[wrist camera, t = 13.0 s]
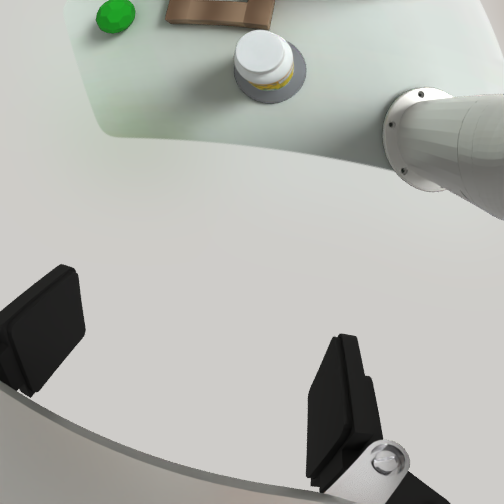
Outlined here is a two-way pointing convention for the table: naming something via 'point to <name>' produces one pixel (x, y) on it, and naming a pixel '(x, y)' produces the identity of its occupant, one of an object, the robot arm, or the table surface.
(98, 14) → the polyhedron
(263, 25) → the holder block
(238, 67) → the supplement bottle
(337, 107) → the table surface
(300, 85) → the slate coaster
